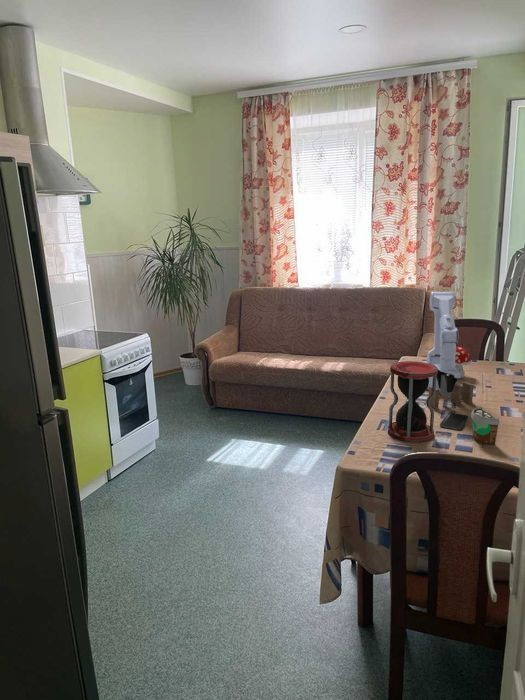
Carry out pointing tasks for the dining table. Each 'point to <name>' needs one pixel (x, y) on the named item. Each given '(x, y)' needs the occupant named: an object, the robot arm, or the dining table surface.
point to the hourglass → (412, 401)
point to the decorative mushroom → (461, 360)
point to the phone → (454, 421)
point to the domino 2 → (444, 386)
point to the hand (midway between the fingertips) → (445, 390)
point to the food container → (484, 426)
